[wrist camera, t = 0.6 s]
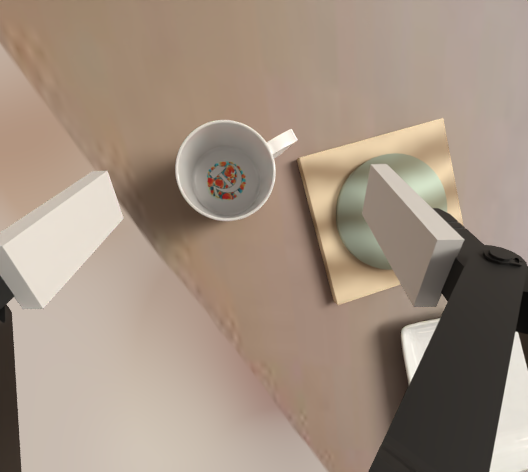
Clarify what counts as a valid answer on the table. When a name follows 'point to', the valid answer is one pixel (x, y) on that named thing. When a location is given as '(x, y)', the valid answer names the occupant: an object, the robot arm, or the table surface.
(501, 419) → the square plate
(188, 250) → the table surface
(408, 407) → the robot arm
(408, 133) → the serving board
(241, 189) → the mug
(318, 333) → the table surface
